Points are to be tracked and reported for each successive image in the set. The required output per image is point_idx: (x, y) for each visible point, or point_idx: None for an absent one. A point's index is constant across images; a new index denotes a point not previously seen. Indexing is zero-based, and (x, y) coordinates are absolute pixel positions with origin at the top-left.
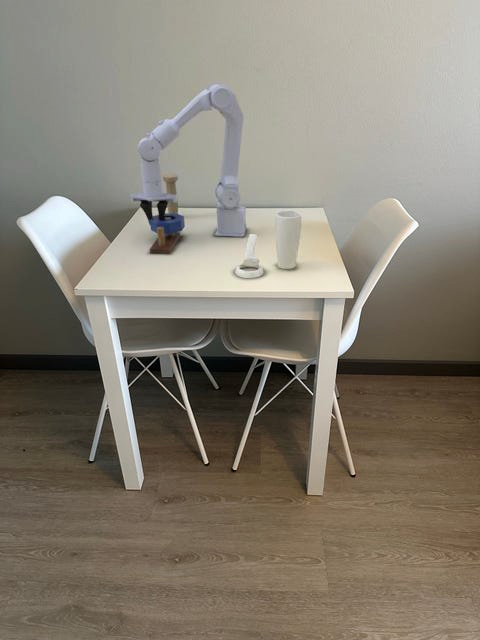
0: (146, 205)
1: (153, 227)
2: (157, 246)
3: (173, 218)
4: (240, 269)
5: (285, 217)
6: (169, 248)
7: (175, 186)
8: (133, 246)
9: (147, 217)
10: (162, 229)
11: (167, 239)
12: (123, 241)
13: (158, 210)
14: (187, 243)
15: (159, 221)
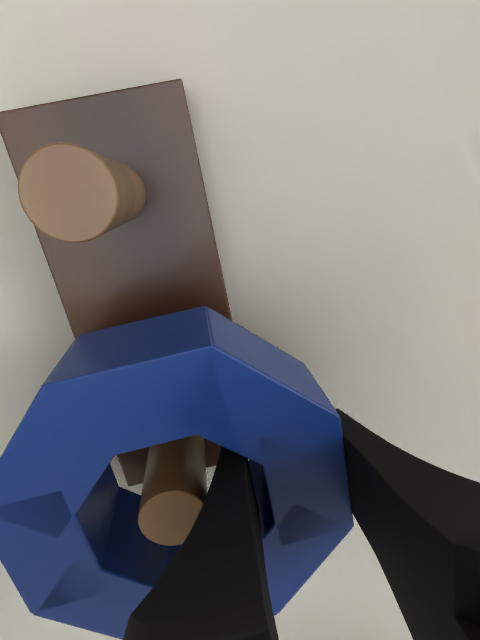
0: (469, 546)
1: (270, 354)
2: (139, 152)
3: (152, 562)
4: None
5: None
6: (3, 134)
7: None
8: (374, 200)
9: (380, 440)
10: (23, 173)
11: None
12: (476, 270)
13: (247, 542)
14: (13, 372)
15: (203, 401)
